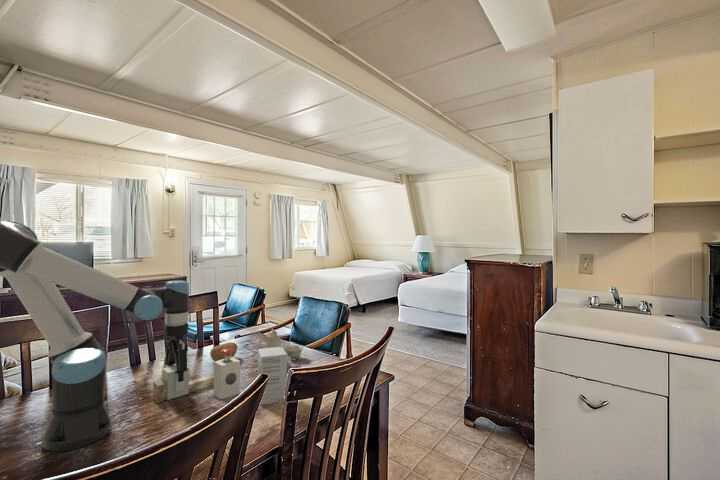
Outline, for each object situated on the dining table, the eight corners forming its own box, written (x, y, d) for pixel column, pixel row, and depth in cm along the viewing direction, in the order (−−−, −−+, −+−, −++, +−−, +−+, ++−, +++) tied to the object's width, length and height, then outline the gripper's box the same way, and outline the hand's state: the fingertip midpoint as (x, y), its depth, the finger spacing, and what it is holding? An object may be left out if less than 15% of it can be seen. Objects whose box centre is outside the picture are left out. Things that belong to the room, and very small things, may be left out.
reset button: (224, 364, 123) (224, 352, 123) (218, 361, 126) (218, 349, 126) (235, 361, 126) (236, 349, 126) (230, 358, 129) (230, 347, 129)
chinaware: (281, 382, 141) (286, 342, 140) (244, 374, 144) (249, 335, 143) (304, 359, 168) (308, 325, 168) (273, 353, 171) (276, 320, 171)
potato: (243, 357, 164) (243, 341, 164) (221, 367, 151) (221, 349, 151) (227, 354, 168) (227, 338, 168) (204, 364, 155) (204, 346, 155)
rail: (157, 403, 118) (158, 385, 117) (153, 398, 121) (153, 381, 121) (229, 381, 137) (230, 366, 137) (224, 377, 140) (224, 363, 140)
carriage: (167, 400, 119) (168, 372, 119) (161, 394, 123) (162, 368, 123) (188, 393, 125) (189, 367, 124) (182, 388, 129) (182, 363, 129)
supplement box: (256, 393, 126) (257, 348, 126) (281, 390, 130) (282, 345, 130) (259, 405, 117) (260, 356, 117) (286, 401, 121) (287, 353, 121)
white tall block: (221, 399, 121) (222, 366, 121) (213, 394, 125) (214, 361, 125) (240, 393, 126) (240, 361, 126) (231, 388, 130) (232, 356, 130)
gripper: (198, 327, 120) (197, 392, 120) (177, 317, 134) (176, 375, 134) (175, 330, 114) (174, 399, 114) (156, 320, 128) (154, 381, 128)
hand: (175, 386), depth 124 cm, fingers open, 7 cm apart
